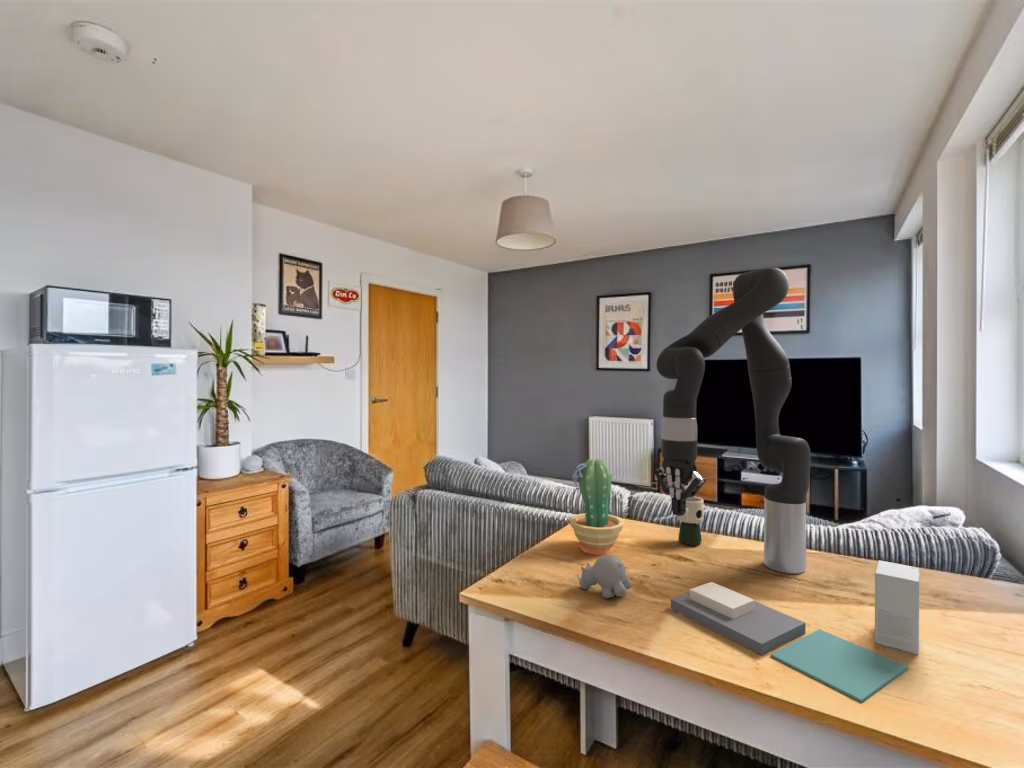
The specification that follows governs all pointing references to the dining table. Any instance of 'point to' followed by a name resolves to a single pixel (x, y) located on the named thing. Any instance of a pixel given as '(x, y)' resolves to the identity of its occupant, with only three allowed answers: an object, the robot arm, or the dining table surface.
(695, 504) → the character mug
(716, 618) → the plate
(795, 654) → the teal mat
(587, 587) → the chubby cartoon animal
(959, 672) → the dining table surface
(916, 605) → the small box
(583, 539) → the potted cactus
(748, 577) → the dining table surface
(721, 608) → the cream tile
